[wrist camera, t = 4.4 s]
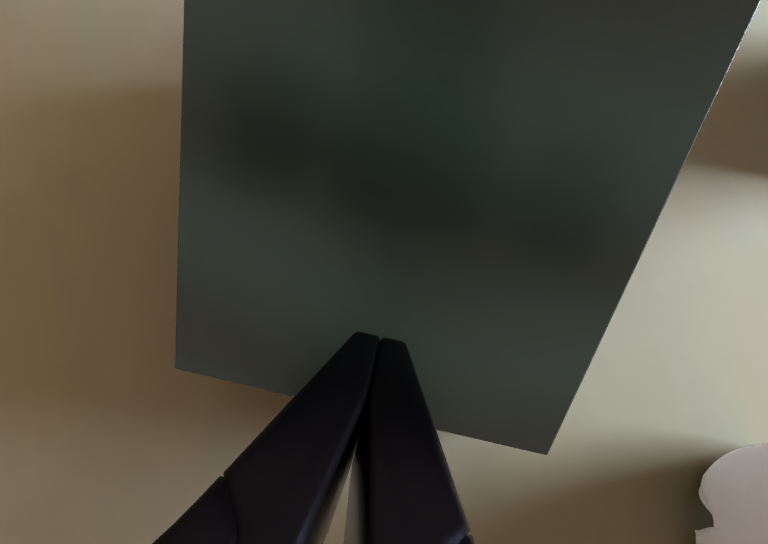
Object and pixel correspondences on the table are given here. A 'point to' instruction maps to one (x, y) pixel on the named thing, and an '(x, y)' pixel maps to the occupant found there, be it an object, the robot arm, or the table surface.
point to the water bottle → (737, 497)
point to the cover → (432, 186)
